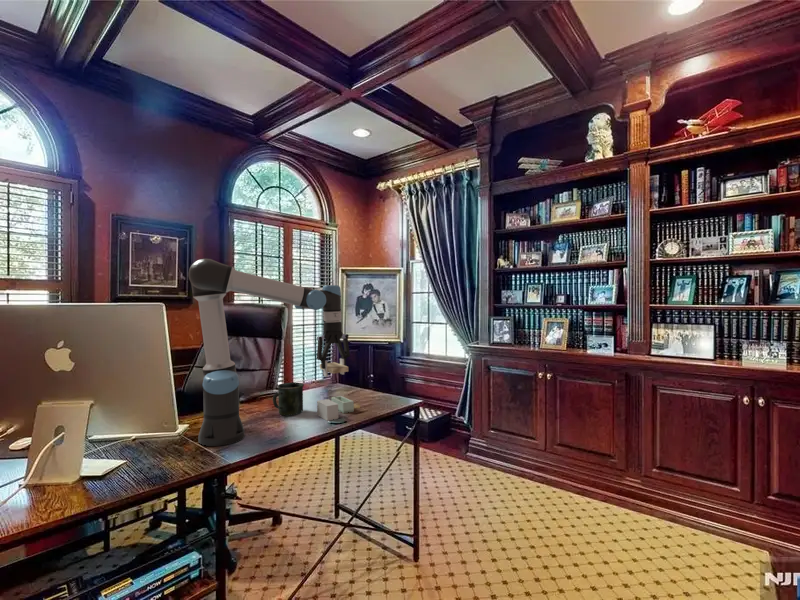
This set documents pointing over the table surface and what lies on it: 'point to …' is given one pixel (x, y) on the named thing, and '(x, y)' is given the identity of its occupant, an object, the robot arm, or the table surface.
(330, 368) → the lid
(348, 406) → the dish
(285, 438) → the table surface
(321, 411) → the light grey rectangular block
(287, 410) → the mug
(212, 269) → the robot arm
